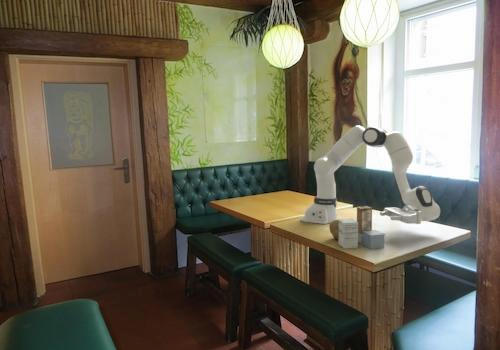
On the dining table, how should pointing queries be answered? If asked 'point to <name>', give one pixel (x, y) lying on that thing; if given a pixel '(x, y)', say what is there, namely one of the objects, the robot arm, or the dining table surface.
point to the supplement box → (348, 233)
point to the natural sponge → (334, 228)
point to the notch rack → (372, 239)
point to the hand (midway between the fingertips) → (385, 216)
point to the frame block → (364, 219)
